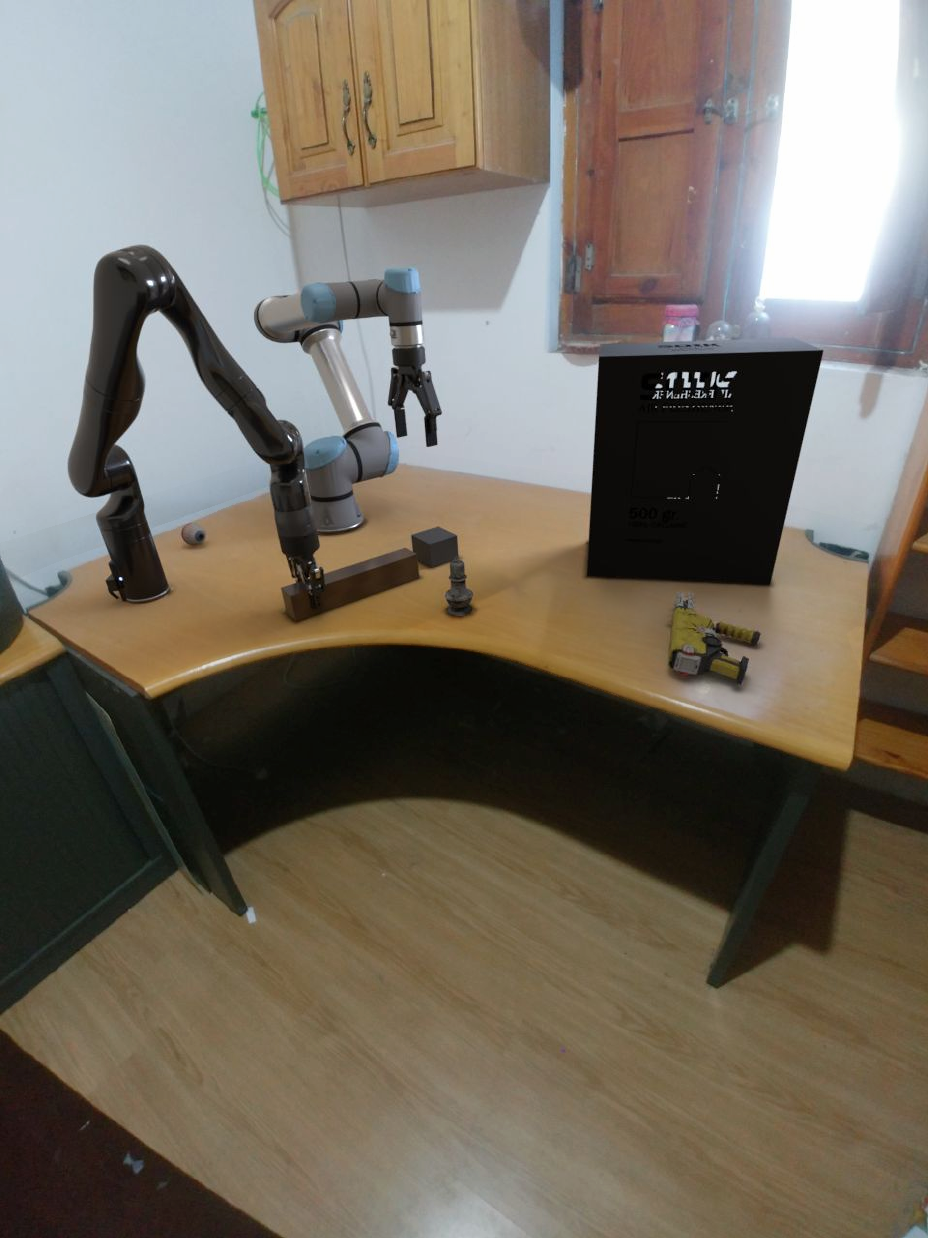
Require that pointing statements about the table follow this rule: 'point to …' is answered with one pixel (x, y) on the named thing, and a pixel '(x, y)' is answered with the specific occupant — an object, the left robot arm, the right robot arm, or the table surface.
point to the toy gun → (704, 643)
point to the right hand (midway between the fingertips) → (416, 441)
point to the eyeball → (193, 534)
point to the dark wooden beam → (353, 583)
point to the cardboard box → (696, 457)
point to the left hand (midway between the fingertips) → (312, 603)
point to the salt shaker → (458, 590)
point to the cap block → (435, 546)
